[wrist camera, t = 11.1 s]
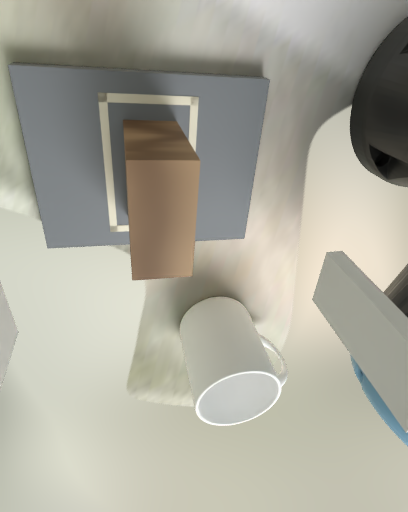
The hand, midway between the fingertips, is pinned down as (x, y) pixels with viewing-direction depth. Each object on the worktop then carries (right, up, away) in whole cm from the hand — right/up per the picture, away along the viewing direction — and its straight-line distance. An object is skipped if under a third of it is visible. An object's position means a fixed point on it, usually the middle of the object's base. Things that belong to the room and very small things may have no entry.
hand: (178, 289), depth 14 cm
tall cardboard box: (-3, +8, +14) cm, 16 cm away
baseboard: (-4, +9, +15) cm, 18 cm away
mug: (+4, -7, +28) cm, 29 cm away
